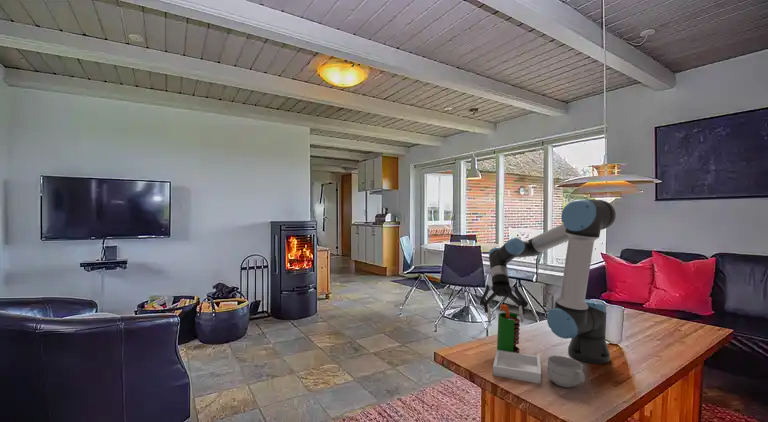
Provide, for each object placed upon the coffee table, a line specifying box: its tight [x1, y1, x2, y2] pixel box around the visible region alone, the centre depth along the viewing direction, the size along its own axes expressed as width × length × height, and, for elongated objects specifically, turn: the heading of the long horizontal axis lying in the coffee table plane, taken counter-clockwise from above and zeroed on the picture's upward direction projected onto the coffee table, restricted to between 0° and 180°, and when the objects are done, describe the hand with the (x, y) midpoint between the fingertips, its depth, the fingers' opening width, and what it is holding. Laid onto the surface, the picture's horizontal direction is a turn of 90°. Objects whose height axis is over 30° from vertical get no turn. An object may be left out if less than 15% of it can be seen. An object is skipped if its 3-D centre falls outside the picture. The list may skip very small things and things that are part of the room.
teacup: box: [546, 355, 586, 388], centre depth 128 cm, size 14×11×8 cm
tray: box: [492, 349, 542, 384], centre depth 140 cm, size 16×16×4 cm
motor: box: [496, 304, 521, 353], centre depth 156 cm, size 10×9×20 cm
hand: (505, 320), depth 158 cm, fingers open, 13 cm apart
